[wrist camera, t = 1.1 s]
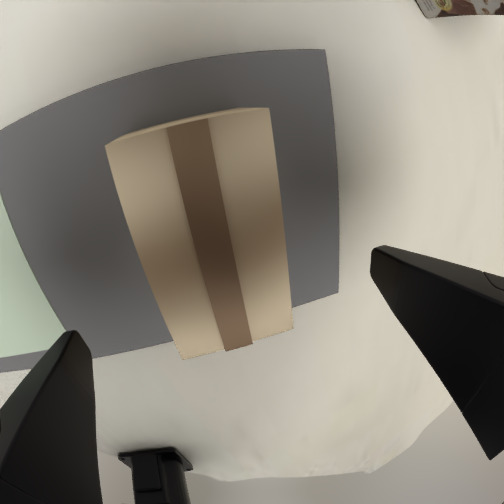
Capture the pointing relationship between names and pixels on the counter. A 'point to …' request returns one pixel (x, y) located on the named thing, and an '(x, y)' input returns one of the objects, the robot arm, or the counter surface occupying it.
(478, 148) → the counter surface
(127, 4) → the counter surface
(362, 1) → the counter surface
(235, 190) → the taped cardboard box
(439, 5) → the coffee box
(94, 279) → the mat
